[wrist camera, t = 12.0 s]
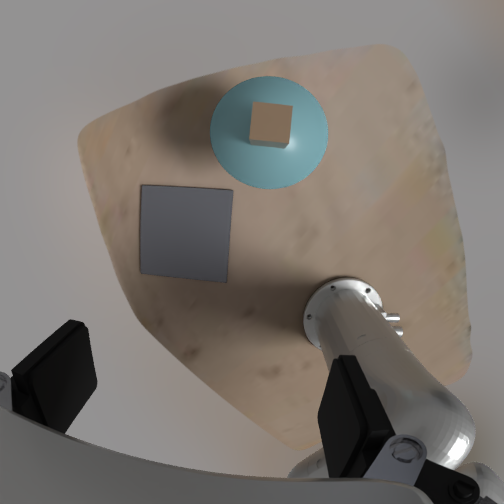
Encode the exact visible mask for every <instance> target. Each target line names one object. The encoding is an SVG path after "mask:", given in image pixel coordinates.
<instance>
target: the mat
mask: <svg viewBox="0 0 504 504" xmlns="http://www.w3.org/2000/svg"><path fill="white" fill-rule="evenodd" d="M232 201H233V190H221V189H206V188H190V187H171V186H149V185H142V199H141V273H142V274H150V275H159V276H168V277H177V278H186V279H195V280H205V281H215V282H225V283H226V282H227V269H228V255H229V241H230V227H231V214H232Z"/></svg>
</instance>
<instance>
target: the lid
mask: <svg viewBox="0 0 504 504" xmlns="http://www.w3.org/2000/svg"><path fill="white" fill-rule="evenodd" d="M210 139H211V144H212V148H213V151H214V153H215V156H216V157H217V159H218V161H219V163H220V164H221V165H222V167H223V168H224V169H225V170H226V171H227V172H228V173H229V174H230V175H232V176H233V177H234V178H236V179H237V180H239V181H240V182H242V183H245V184H247V185H250V186H253V187H257V188H262V189H277V188H283V187H287V186H290V185H293V184H295V183H297V182H299V181H301V180H303V179H304V178H305V177H307V176H308V175H309V174H310V173H311V172H313V170H314V169H315V168H316V167H317V166H318V164H319V163H320V161H321V159H322V157H323V155H324V153H325V150H326V147H327V141H328V126H327V121H326V117H325V114H324V112H323V109H322V108H321V106H320V104H319V103H318V101H317V100H316V99H315V97H314V96H313V95H312V94H311V93H310V92H309V91H307V90H306V89H305V88H304V87H302V86H300V85H299V84H297V83H295V82H293V81H291V80H288V79H284V78H280V77H272V76H265V77H257V78H252V79H249V80H246V81H244V82H242V83H240V84H238V85H236V86H235V87H233V88H232V89H231V90H229V91H228V92H227V93H226V94H225V95H224V96H223V97H222V99H221V100H220V102H219V103H218V105H217V106H216V108H215V110H214V113H213V116H212V119H211V125H210Z"/></svg>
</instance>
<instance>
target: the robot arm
mask: <svg viewBox="0 0 504 504" xmlns="http://www.w3.org/2000/svg"><path fill="white" fill-rule="evenodd" d="M332 285H333V287H332V288H331V286H332ZM366 288H367V290H366ZM309 314H310V315H309ZM307 315H309V316H307ZM399 318H400V317H399V314H398V313H390V314H387V313H386V312H385V311H384V310H383V306H382V302H381V298H380V296H379V295H378V293H377V292H376V290H375V289H374V288H373V287H372V286H371V285H369V284H368V283H367V282H365V281H363V280H360V279H357V278H349V277H346V278H339V279H335V280H332V281H330V282H328V283H326V284H324V285H323V286H321V287H320V288H319V289H317V291H316V292H315V293H314V294H313V295H312V296H311V298H310V299H309V301H308V302H307V305H306V307H305V310H304V314H303V325H304V330H305V333H306V335H307V337H308V339H309V340H310V342H311V343H312V344H313V345H314V346H315V347H317V348H318V349H320V350H322V352H323V355H324V358H325V361H326V364H327V367H328V370H329V376H328V380H327V384H326V387H325V391H324V394H323V398H322V401H321V404H320V408H319V411H318V424H319V429H320V434H321V439H322V444H323V448H321V449H319V450H318V451H316V452H315V453H313V454H312V455H310V456H309V457H307V458H306V459H304V460H303V461H301V462H300V463H298V464H297V465H296V466H295V467H294V468H293V469H292V471H291V472H290V473H289V475H288V477H287V478H274V477H256V476H243V475H231V474H223V473H215V472H208V471H201V470H195V469H189V468H183V467H178V466H173V465H167V464H163V463H158V462H154V461H149V460H146V459H141V458H138V457H133V456H130V455H126V454H123V453H119V452H116V451H112V450H109V449H106V448H103V447H100V446H97V445H93V444H91V443H88V442H84V441H82V440H79V439H77V438H74V437H71V436H69V435H66V434H65V432H66V431H67V429H68V428H69V427H70V425H71V424H72V422H73V420H74V419H75V418H76V416H77V415H78V413H79V412H80V410H81V409H82V408H83V406H84V405H85V403H86V402H87V400H88V399H89V398H90V396H91V395H92V393H93V392H94V391H95V389H96V387H97V377H96V372H95V368H94V362H93V357H92V351H91V345H90V338H89V333H88V328H87V327H86V326H85V324H84V323H83V322H80V321H75V320H68V321H67V322H66V323H65V324H64V325H62V326H61V327H60V328H59V329H58V330H56V331H55V332H54V333H53V334H52V335H51V336H49V337H48V338H47V339H46V340H45V341H44V342H42V343H41V344H40V345H39V346H38V347H37V348H36V349H34V350H33V351H32V352H31V353H30V354H29V355H28V356H27V357H25V358H24V359H23V360H22V361H21V362H20V363H19V364H18V365H16V366H15V367H14V368H13V369H12V370H11V371H12V374H13V376H12V377H11V378H10V377H9V376H8V375H7V374H6V373H3V372H0V504H504V482H503V481H502V480H501V479H500V477H499V476H498V475H497V474H496V473H495V472H494V471H493V470H492V469H491V468H490V467H488V466H487V465H485V464H483V463H479V462H470V463H467V464H464V465H462V466H460V467H458V466H459V465H460V464H461V463H462V461H463V460H464V459H465V458H466V456H467V455H468V453H469V452H470V450H471V448H472V446H473V443H474V440H475V423H474V420H473V418H472V416H471V414H470V412H469V411H468V409H467V408H466V406H465V405H464V404H463V403H462V402H461V401H460V400H459V399H458V398H457V397H456V396H455V395H454V394H453V393H452V392H450V391H449V390H448V389H447V388H446V387H445V386H443V385H442V384H441V383H440V382H439V381H438V380H437V379H436V378H434V377H433V376H432V375H431V374H430V373H429V372H428V371H427V370H426V368H425V367H424V366H423V365H422V364H421V363H420V361H419V360H418V359H417V358H416V357H415V355H414V354H413V353H412V352H411V350H410V349H409V348H408V346H407V345H406V344H405V343H404V341H403V340H402V339H401V337H402V334H403V330H402V327H401V326H391V325H390V324H389V322H398V321H399ZM457 467H458V468H457Z"/></svg>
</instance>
